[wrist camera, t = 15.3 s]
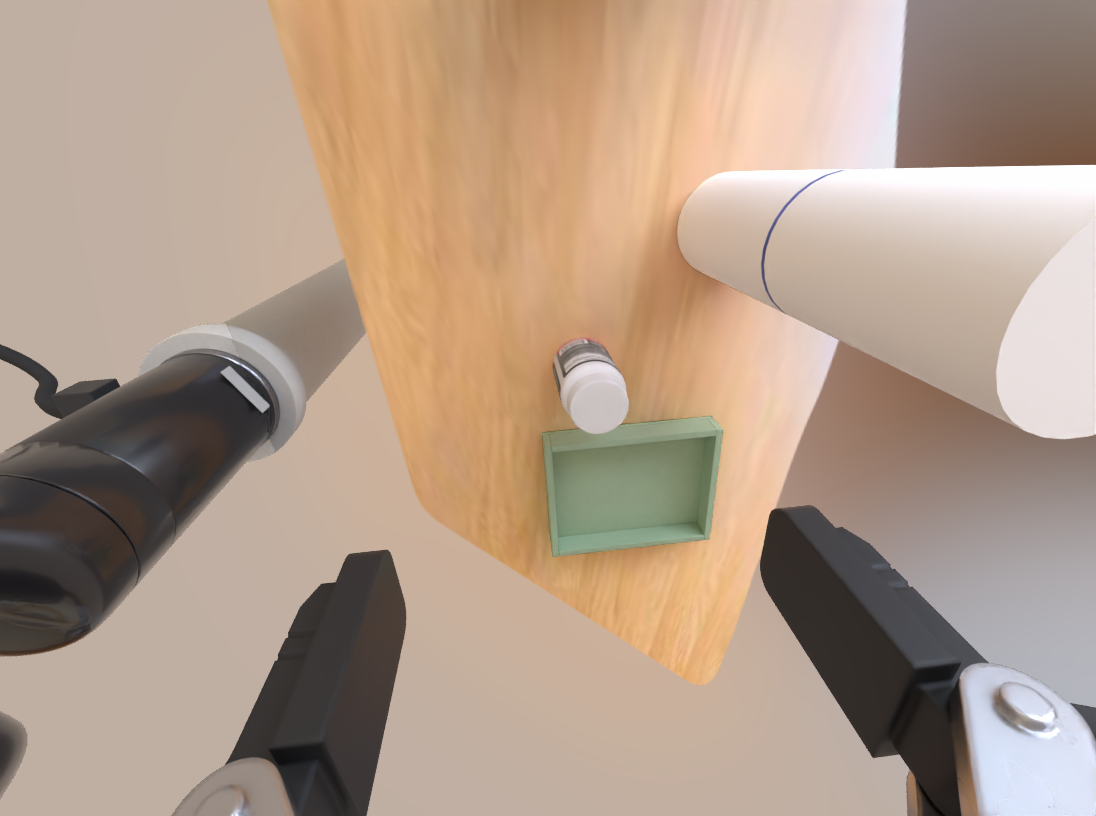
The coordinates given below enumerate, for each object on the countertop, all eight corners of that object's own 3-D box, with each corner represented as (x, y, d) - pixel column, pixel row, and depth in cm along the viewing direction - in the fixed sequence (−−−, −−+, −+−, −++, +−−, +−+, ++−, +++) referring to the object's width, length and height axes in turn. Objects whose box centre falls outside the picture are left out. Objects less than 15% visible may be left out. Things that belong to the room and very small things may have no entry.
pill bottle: (596, 396, 40) (619, 447, 32) (544, 381, 39) (554, 431, 31) (618, 345, 38) (646, 387, 30) (563, 328, 37) (579, 367, 29)
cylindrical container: (725, 148, 32) (1234, 86, 10) (792, 212, 34) (1328, 282, 12) (657, 238, 34) (944, 355, 12) (724, 293, 37) (1069, 477, 14)
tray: (550, 538, 46) (552, 557, 44) (541, 432, 41) (544, 447, 39) (699, 522, 47) (709, 539, 45) (711, 415, 42) (723, 429, 39)
